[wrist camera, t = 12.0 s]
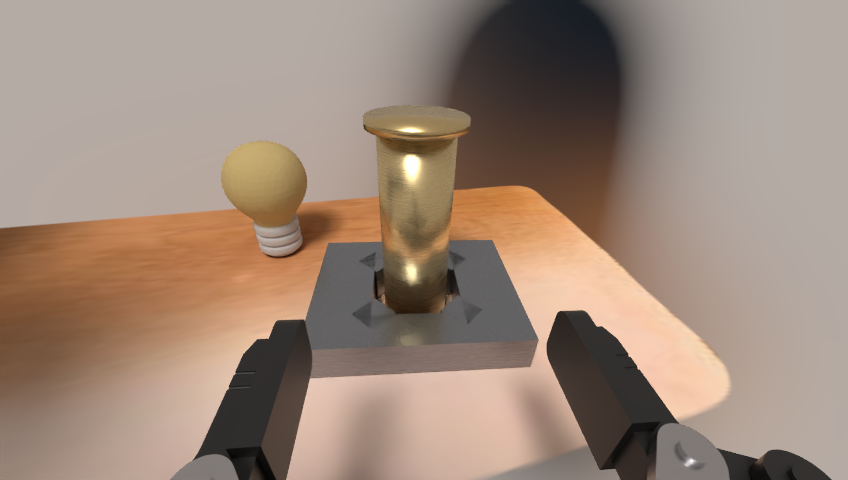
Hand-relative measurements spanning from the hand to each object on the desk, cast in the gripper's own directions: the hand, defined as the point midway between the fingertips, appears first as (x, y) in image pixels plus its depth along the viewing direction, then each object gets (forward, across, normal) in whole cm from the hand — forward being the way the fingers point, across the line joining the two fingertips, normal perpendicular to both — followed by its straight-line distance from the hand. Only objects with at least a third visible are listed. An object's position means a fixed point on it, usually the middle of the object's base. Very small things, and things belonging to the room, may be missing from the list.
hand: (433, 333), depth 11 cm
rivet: (+11, 0, +10) cm, 15 cm away
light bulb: (+19, +12, +10) cm, 25 cm away
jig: (+11, 0, +10) cm, 15 cm away
